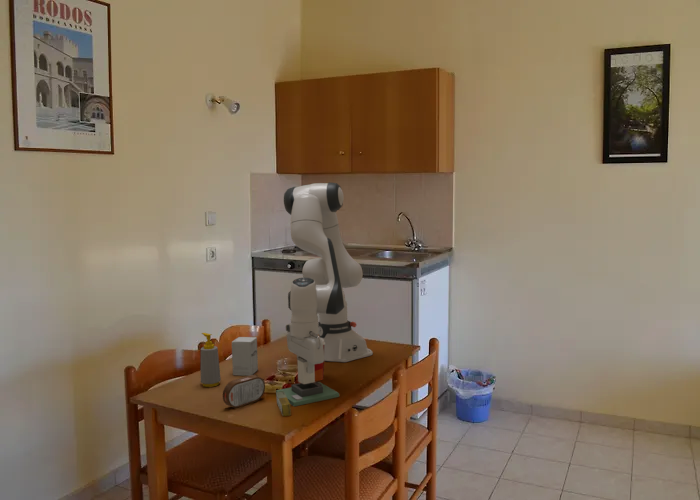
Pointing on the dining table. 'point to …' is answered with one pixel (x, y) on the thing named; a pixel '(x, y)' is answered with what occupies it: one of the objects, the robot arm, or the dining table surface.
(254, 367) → the supplement box
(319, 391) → the board
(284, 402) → the medication box
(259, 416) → the dining table surface
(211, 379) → the soap bottle
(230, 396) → the tin
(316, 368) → the paper cup
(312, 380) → the plug
